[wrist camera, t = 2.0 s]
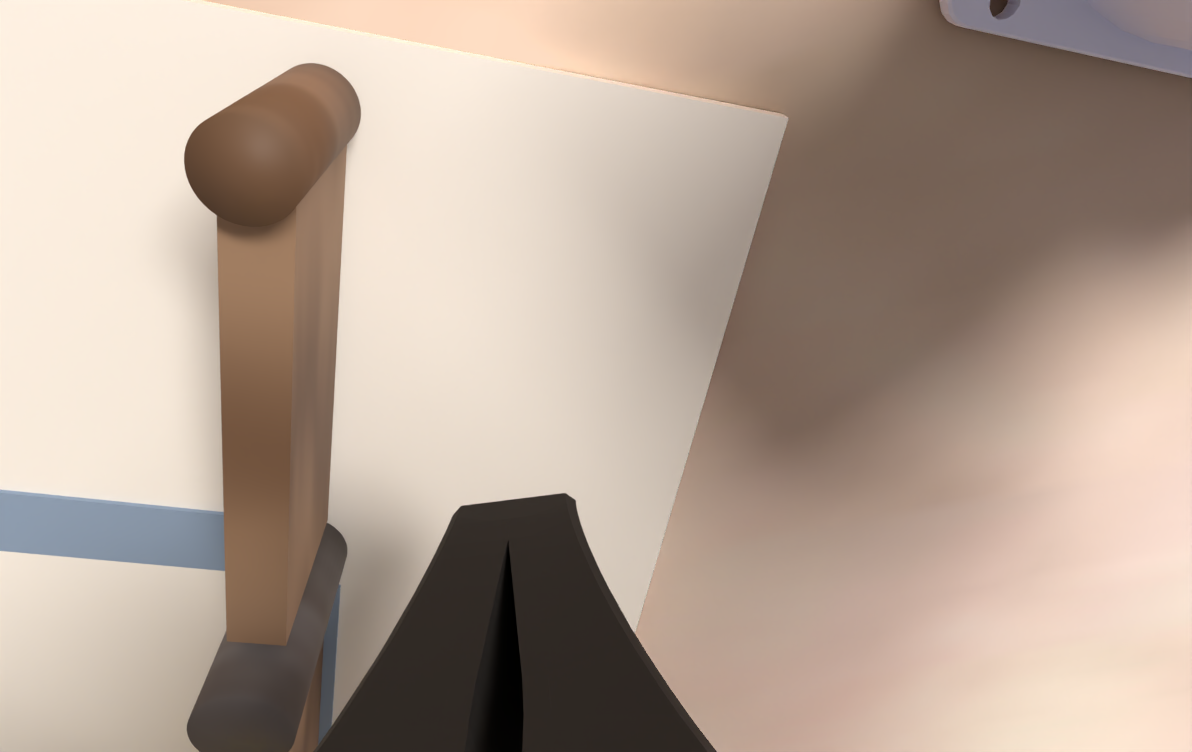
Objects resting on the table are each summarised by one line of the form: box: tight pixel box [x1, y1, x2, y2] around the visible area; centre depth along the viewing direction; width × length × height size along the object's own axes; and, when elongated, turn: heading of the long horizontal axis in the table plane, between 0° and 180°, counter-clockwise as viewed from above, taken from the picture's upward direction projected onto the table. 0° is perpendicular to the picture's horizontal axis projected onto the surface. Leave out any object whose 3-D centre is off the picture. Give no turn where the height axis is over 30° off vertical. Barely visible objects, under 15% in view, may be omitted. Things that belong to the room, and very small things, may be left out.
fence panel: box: [184, 63, 361, 646], centre depth 13 cm, size 9×1×4 cm, turn 169°
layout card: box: [0, 0, 789, 752], centre depth 18 cm, size 20×22×1 cm
